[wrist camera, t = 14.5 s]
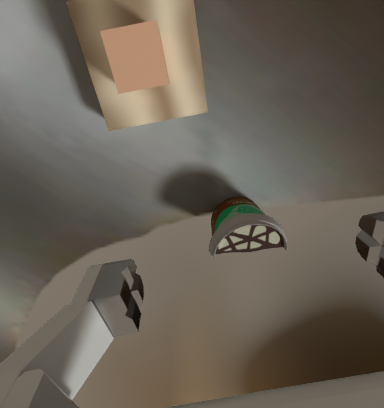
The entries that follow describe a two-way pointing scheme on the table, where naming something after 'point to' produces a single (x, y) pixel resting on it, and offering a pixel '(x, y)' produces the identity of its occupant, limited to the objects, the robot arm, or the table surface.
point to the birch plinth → (173, 51)
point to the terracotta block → (136, 56)
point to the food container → (243, 228)
